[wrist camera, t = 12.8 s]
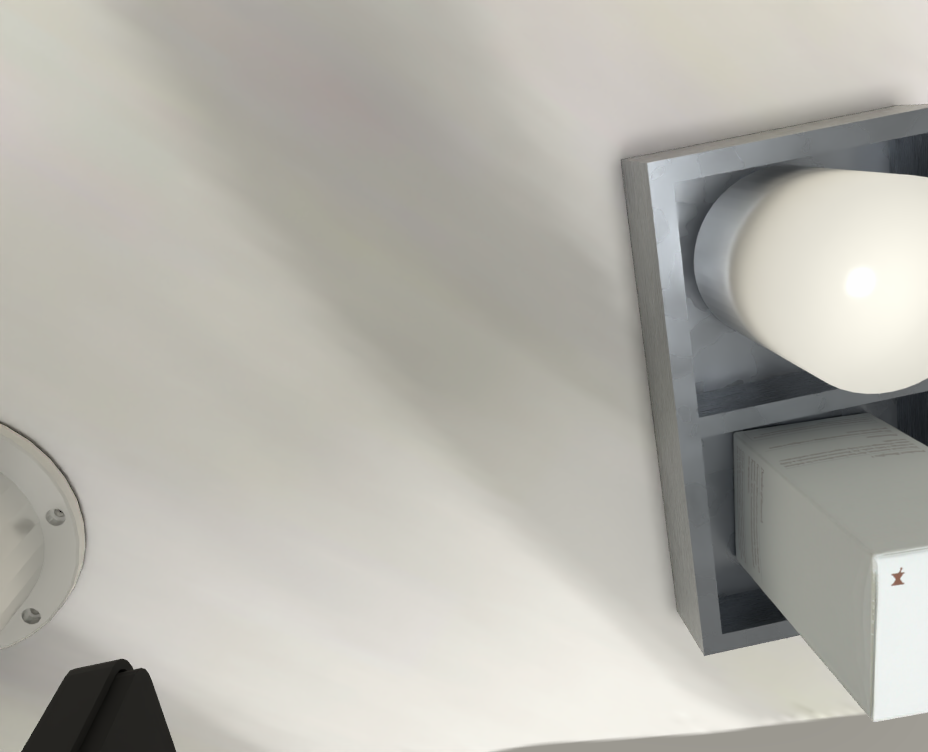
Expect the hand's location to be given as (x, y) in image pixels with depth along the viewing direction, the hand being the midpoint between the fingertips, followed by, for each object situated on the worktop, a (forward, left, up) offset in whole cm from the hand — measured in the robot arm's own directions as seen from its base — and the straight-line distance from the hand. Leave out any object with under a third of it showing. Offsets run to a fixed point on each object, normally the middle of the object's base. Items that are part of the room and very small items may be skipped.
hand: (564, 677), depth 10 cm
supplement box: (+16, -14, -29) cm, 37 cm away
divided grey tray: (+16, -9, -30) cm, 35 cm away
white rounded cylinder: (+16, -2, -29) cm, 33 cm away
